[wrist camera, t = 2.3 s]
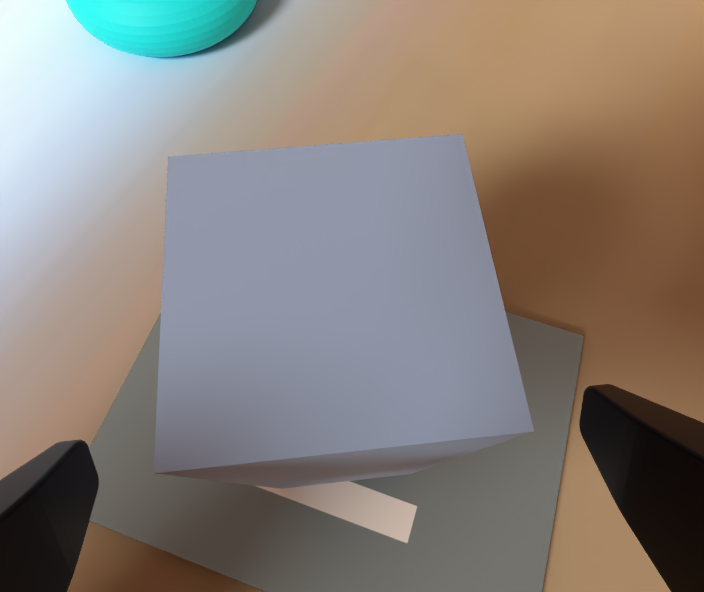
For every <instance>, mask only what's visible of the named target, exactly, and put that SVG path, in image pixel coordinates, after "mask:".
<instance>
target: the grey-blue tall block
mask: <svg viewBox="0 0 704 592" xmlns="http://www.w3.org/2000/svg"><path fill="white" fill-rule="evenodd" d="M531 432H534V428H533V424H532V420H531V416H530V412H529V408H528V403H527V399H526V395H525V391H524V387H523V383H522V379H521V375H520V370H519V366H518V362H517V358H516V354H515V350H514V346H513V341H512V337H511V333H510V329H509V325H508V321H507V317H506V313H505V308H504V304H503V300H502V296H501V292H500V288H499V284H498V280H497V275H496V271H495V267H494V263H493V259H492V255H491V251H490V246H489V242H488V238H487V234H486V230H485V226H484V222H483V218H482V213H481V209H480V205H479V201H478V197H477V193H476V189H475V184H474V180H473V176H472V172H471V168H470V164H469V160H468V156H467V151H466V147H465V143H464V139H463V135H462V134H457V135H444V136H431V137H418V138H405V139H392V140H379V141H366V142H353V143H340V144H327V145H314V146H301V147H288V148H275V149H262V150H249V151H236V152H223V153H210V154H197V155H184V156H171V157H168V173H167V194H166V216H165V237H164V259H163V280H162V301H161V323H160V344H159V366H158V387H157V408H156V430H155V451H154V473H155V474H163V475H171V476H180V477H188V478H196V479H205V480H213V481H221V482H230V483H238V484H246V485H254V486H263V487H271V488H279V489H283V488H292V487H301V486H310V485H318V484H327V483H336V482H345V481H354V480H363V479H371V478H380V477H389V476H398V475H407V474H412V473H415V472H418V471H421V470H424V469H427V468H430V467H432V466H435V465H438V464H441V463H444V462H447V461H450V460H453V459H456V458H458V457H461V456H464V455H467V454H470V453H473V452H476V451H479V450H482V449H485V448H487V447H490V446H493V445H496V444H499V443H502V442H505V441H508V440H511V439H514V438H516V437H519V436H522V435H525V434H528V433H531Z"/></svg>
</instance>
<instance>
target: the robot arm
mask: <svg viewBox="0 0 704 592" xmlns="http://www.w3.org/2000/svg"><path fill="white" fill-rule="evenodd" d="M580 431H581V434H582V437H583V439H584V441H585V443H586V445H587V447H588V449H589V451H590V453H591V455H592V457H593V459H594V461H595V463H596V465H597V467H598V469H599V471H600V473H601V475H602V477H603V479H604V481H605V483H606V485H607V487H608V489H609V491H610V493H611V495H612V497H613V499H614V500H615V502H616V504H617V506H618V508H619V510H620V511H621V513H622V515H623V516H624V518H625V520H626V521H627V523H628V525H629V526H630V528H631V529H632V531H633V532H634V534H635V536H636V537H637V539H638V540H639V542H640V543H641V545H642V547H643V548H644V550H645V551H646V553H647V554H648V556H649V558H650V559H651V561H652V562H653V564H654V565H655V567H656V569H657V570H658V572H659V573H660V575H661V576H662V578H663V580H664V581H665V583H666V584H667V586H668V587H669V589H670V591H671V592H704V423H702V422H700V421H697V420H695V419H693V418H690V417H688V416H685V415H683V414H681V413H678V412H676V411H673V410H671V409H669V408H666V407H664V406H661V405H659V404H657V403H654V402H652V401H649V400H647V399H645V398H642V397H640V396H637V395H635V394H633V393H630V392H628V391H625V390H623V389H620V388H618V387H616V386H613V385H610V384H604V385H594V386H589V387H587V388H586V389H585V391H584V395H583V402H582V409H581V416H580ZM98 488H99V477H98V473H97V470H96V467H95V464H94V461H93V459H92V456H91V453H90V450H89V447H88V445H87V444H86V442H85V441H82V440H72V441H63V442H58V443H56V444H54V445H53V446H51V447H50V448H48V449H47V450H45V451H44V452H42V453H41V454H39V455H38V456H36V457H35V458H33V459H32V460H30V461H29V462H27V463H26V464H24V465H22V466H21V467H19V468H18V469H16V470H15V471H13V472H12V473H10V474H9V475H7V476H6V477H4V478H3V479H1V480H0V592H67V590H68V587H69V585H70V582H71V579H72V577H73V574H74V571H75V567H76V564H77V561H78V558H79V554H80V551H81V547H82V544H83V541H84V537H85V534H86V530H87V527H88V523H89V520H90V516H91V513H92V509H93V506H94V503H95V499H96V496H97V492H98Z"/></svg>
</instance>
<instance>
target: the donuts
mask: <svg viewBox="0 0 704 592" xmlns="http://www.w3.org/2000/svg"><path fill="white" fill-rule="evenodd" d="M66 2H67V4H68V6H69V8H70V10H71V11H72V13H73V15H74V16H75V18H76V19H77V20H78V21H79V23H80V24H81V25H82V26H83V27H84V28H85V29H86V30H87V31H88V32H89V33H90V34H92V35H93V36H94V37H96V38H97V39H99V40H100V41H102V42H104V43H105V44H107V45H109V46H111V47H113V48H115V49H118V50H121V51H124V52H127V53H131V54H135V55H141V56H149V57H172V56H181V55H186V54H190V53H194V52H197V51H201V50H203V49H206V48H208V47H211V46H213V45H215V44H217V43H218V42H220V41H222V40H224V39H225V38H227V37H228V36H230V35H231V34H232V33H233V32H235V31H236V30H237V29H238V28H239V27H240V26H241V25H242V24H243V23H244V22H245V21H246V19H247V18H248V17H249V15H250V14H251V12H252V10H253V9H254V6H255V4H256V2H257V0H66Z"/></svg>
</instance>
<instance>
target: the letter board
mask: <svg viewBox="0 0 704 592" xmlns="http://www.w3.org/2000/svg"><path fill="white" fill-rule="evenodd" d="M505 313H506V317H507V321H508V325H509V329H510V333H511V337H512V341H513V346H514V350H515V354H516V358H517V362H518V366H519V370H520V375H521V379H522V383H523V387H524V391H525V395H526V399H527V403H528V408H529V412H530V416H531V420H532V424H533V428H534V432H531V433H528V434H525V435H522V436H519V437H516V438H514V439H511V440H508V441H505V442H502V443H499V444H496V445H493V446H490V447H487V448H485V449H482V450H479V451H476V452H473V453H470V454H467V455H464V456H461V457H458V458H456V459H453V460H450V461H447V462H444V463H441V464H438V465H435V466H432V467H430V468H427V469H424V470H421V471H418V472H415V473H412V474H407V475H398V476H389V477H380V478H371V479H363V480H354V481H345V482H336V483H327V484H318V485H310V486H301V487H292V488H283V489H279V488H271V487H263V486H254V485H246V484H238V483H230V482H221V481H213V480H205V479H196V478H188V477H180V476H171V475H163V474H155V473H154V451H155V430H156V408H157V387H158V366H159V344H160V323H161V313H160V315H159V317H158V319H157V321H156V323H155V325H154V326H153V328H152V330H151V332H150V334H149V336H148V338H147V340H146V342H145V344H144V345H143V347H142V349H141V351H140V353H139V355H138V357H137V359H136V361H135V362H134V364H133V366H132V368H131V370H130V372H129V374H128V376H127V378H126V379H125V381H124V383H123V385H122V387H121V389H120V391H119V393H118V395H117V396H116V398H115V400H114V402H113V404H112V406H111V408H110V410H109V412H108V413H107V415H106V417H105V419H104V421H103V423H102V425H101V427H100V429H99V430H98V432H97V434H96V436H95V438H94V440H93V442H92V444H91V446H90V447H89V450H90V453H91V456H92V459H93V461H94V464H95V467H96V470H97V473H98V477H99V488H98V492H97V496H96V499H95V503H94V506H93V509H92V513H91V516H90V520H89V521H91V522H94V523H96V524H99V525H101V526H103V527H106V528H108V529H111V530H113V531H116V532H118V533H121V534H123V535H126V536H128V537H131V538H133V539H136V540H138V541H141V542H143V543H146V544H148V545H151V546H153V547H156V548H158V549H160V550H163V551H165V552H168V553H170V554H173V555H175V556H178V557H180V558H183V559H185V560H188V561H190V562H193V563H195V564H198V565H200V566H203V567H205V568H208V569H210V570H213V571H215V572H218V573H220V574H222V575H225V576H227V577H230V578H232V579H235V580H237V581H240V582H242V583H245V584H247V585H250V586H252V587H255V588H257V589H260V590H262V591H265V592H542V588H543V582H544V576H545V570H546V564H547V558H548V552H549V546H550V540H551V534H552V528H553V522H554V516H555V510H556V503H557V497H558V491H559V485H560V479H561V473H562V467H563V461H564V455H565V449H566V443H567V437H568V431H569V425H570V419H571V413H572V407H573V401H574V395H575V389H576V383H577V377H578V371H579V365H580V359H581V352H582V346H583V340H584V336H583V335H580V334H577V333H574V332H570V331H567V330H564V329H561V328H558V327H554V326H551V325H548V324H545V323H542V322H539V321H535V320H532V319H529V318H526V317H523V316H519V315H516V314H513V313H510V312H507V311H505Z"/></svg>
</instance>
